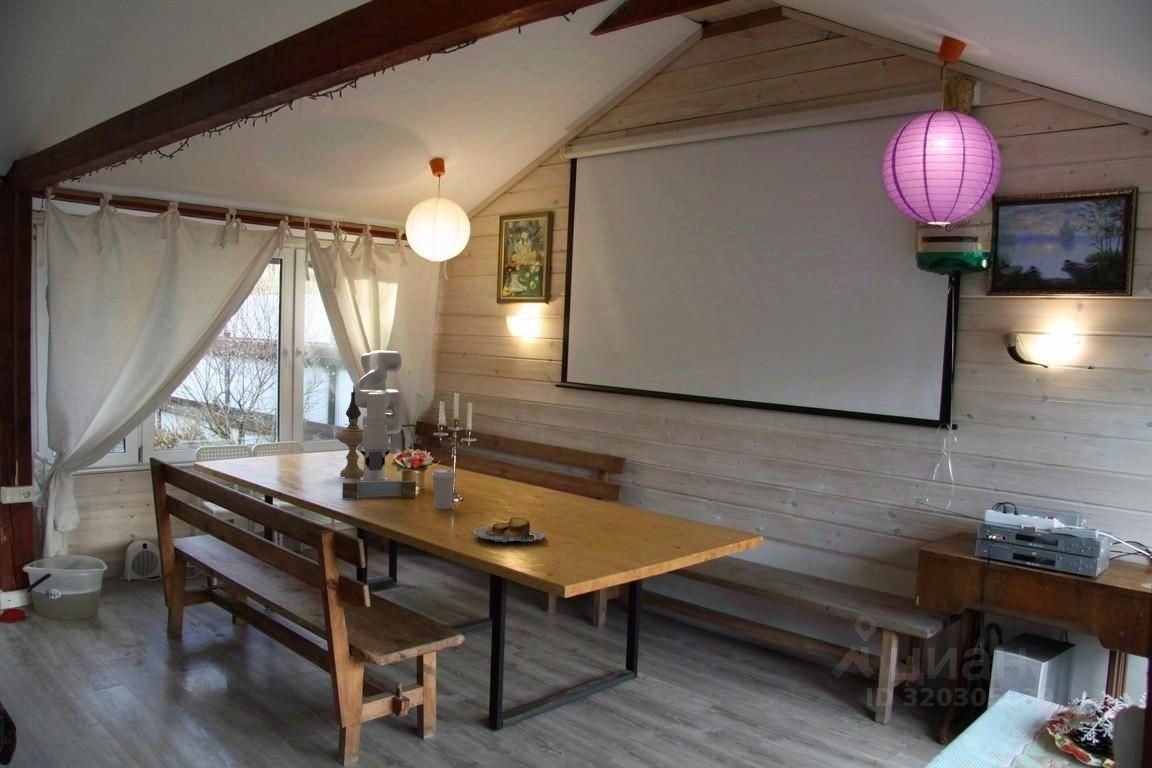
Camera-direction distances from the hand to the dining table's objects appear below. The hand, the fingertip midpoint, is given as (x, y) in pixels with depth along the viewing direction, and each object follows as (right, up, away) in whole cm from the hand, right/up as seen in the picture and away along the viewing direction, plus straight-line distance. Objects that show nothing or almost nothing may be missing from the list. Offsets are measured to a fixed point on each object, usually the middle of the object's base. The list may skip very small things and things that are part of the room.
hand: (374, 466), depth 353 cm
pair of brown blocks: (0, -14, +10) cm, 17 cm away
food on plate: (+59, -21, -51) cm, 81 cm away
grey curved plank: (-1, -13, +12) cm, 18 cm away
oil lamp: (-24, -10, +55) cm, 61 cm away
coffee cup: (+29, -16, -5) cm, 33 cm away
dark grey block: (0, -1, 0) cm, 1 cm away
